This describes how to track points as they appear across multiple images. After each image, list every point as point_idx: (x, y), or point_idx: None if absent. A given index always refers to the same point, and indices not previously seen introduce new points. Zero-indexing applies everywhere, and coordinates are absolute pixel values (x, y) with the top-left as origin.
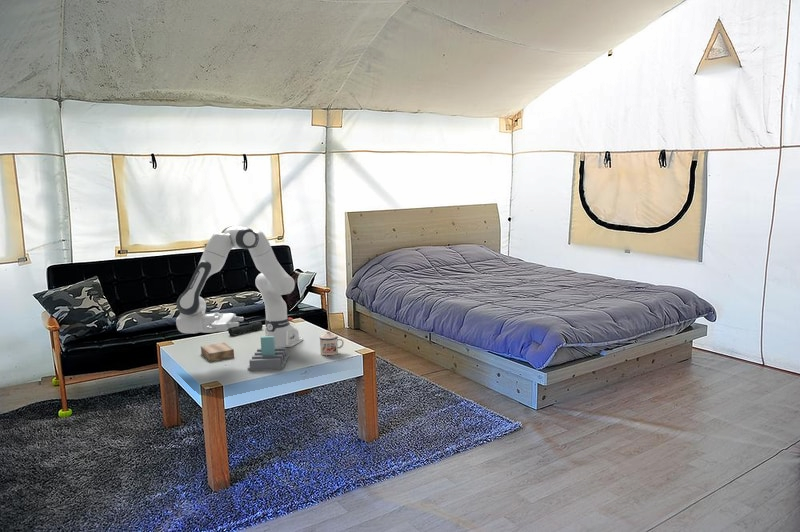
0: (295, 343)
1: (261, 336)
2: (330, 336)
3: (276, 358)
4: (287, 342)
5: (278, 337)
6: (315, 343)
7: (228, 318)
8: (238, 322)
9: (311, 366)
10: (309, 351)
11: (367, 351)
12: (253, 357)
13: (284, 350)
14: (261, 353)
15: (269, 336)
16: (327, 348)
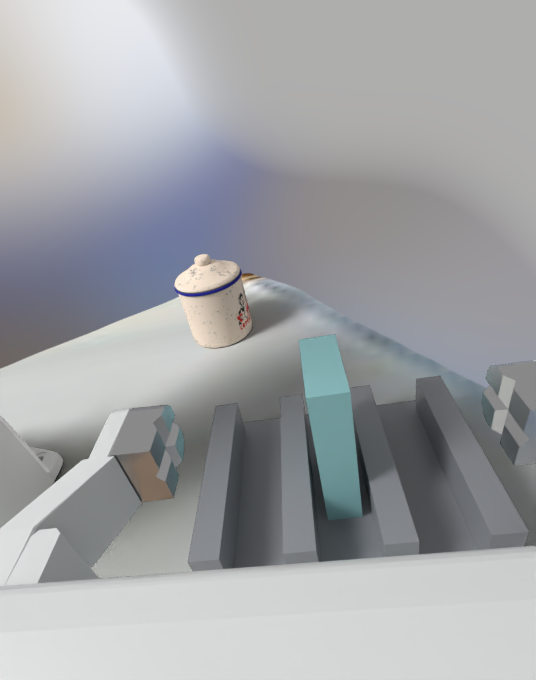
0: (32, 448)
1: (313, 396)
2: (227, 263)
3: (424, 392)
4: (39, 460)
5: (4, 478)
6: (66, 391)
7: (378, 654)
8: (528, 361)
9: (374, 337)
10: (172, 383)
11: None
12: (415, 532)
13: (238, 413)
14: (358, 480)
15: (317, 354)
16: (246, 304)
